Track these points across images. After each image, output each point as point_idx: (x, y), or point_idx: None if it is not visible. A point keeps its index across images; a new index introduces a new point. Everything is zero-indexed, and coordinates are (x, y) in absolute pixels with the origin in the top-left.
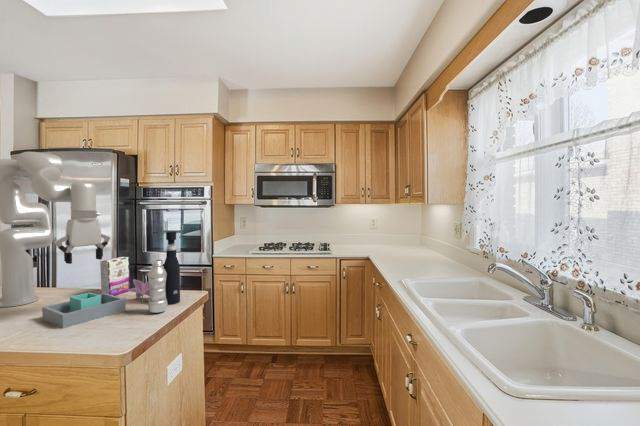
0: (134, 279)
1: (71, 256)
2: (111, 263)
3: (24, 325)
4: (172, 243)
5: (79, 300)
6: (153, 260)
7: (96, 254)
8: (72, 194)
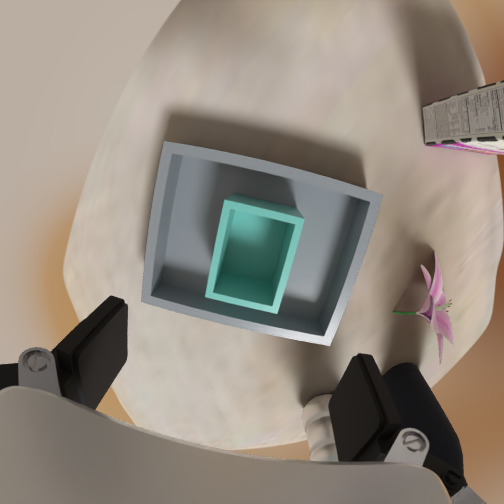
0: (432, 329)
1: (100, 394)
2: None
3: (132, 150)
4: None
5: (207, 284)
6: None
7: (359, 390)
8: None
